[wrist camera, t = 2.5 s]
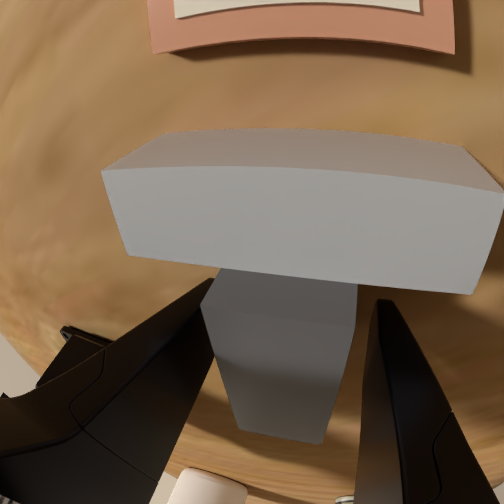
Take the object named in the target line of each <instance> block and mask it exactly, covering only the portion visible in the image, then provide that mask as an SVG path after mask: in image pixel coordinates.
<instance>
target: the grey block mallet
mask: <svg viewBox="0 0 504 504" xmlns="http://www.w3.org/2000/svg"><path fill="white" fill-rule="evenodd" d="M101 174H102V177H103V181H104V184H105V188H106V191H107V194H108V198H109V201H110V204H111V207H112V211H113V214H114V217H115V220H116V223H117V226H118V229H119V232H120V235H121V238H122V241H123V243H124V246H125V249H126V252H127V255H130V256H137V257H144V258H151V259H159V260H166V261H173V262H181V263H188V264H196V265H204V266H211V267H219V268H221V269H220V271H219V273H218V274H217V276H216V278H215V280H214V281H213V283H212V285H211V287H210V288H209V290H208V292H207V294H206V295H205V297H204V299H203V301H202V302H201V304H200V307H201V310H202V314H203V317H204V321H205V324H206V328H207V331H208V335H209V338H210V341H211V345H212V348H213V351H214V355H215V358H216V361H217V364H218V367H219V371H220V374H221V377H222V380H223V383H224V386H225V389H226V392H227V395H228V399H229V402H230V404H231V407H232V410H233V413H234V416H235V419H236V422H237V425H238V428H239V429H240V430H244V431H249V432H253V433H258V434H262V435H267V436H272V437H277V438H282V439H288V440H293V441H299V442H305V443H312V444H319V445H321V443H322V440H323V438H324V435H325V432H326V429H327V426H328V423H329V420H330V417H331V414H332V410H333V407H334V404H335V401H336V397H337V394H338V391H339V387H340V384H341V380H342V377H343V373H344V370H345V366H346V362H347V358H348V355H349V351H350V347H351V343H352V338H353V334H354V330H355V322H356V308H357V290H358V284H365V285H374V286H384V287H394V288H404V289H414V290H424V291H435V292H446V293H457V294H469V295H472V294H473V292H474V290H475V287H476V285H477V283H478V280H479V278H480V275H481V273H482V271H483V268H484V266H485V263H486V260H487V258H488V255H489V252H490V250H491V247H492V244H493V241H494V238H495V235H496V232H497V229H498V226H499V223H500V220H501V216H502V213H503V209H504V190H503V189H502V188H501V187H500V186H499V184H498V183H497V182H496V181H495V180H494V179H493V178H492V177H491V176H490V174H489V173H488V172H487V171H486V170H485V169H484V168H483V167H482V166H481V165H480V164H479V163H478V162H477V161H476V160H475V159H474V158H473V157H472V156H471V155H470V154H469V153H468V152H467V151H466V150H465V149H464V148H463V147H462V146H458V145H452V144H447V143H441V142H435V141H429V140H423V139H416V138H409V137H402V136H394V135H385V134H376V133H365V132H354V131H340V130H323V129H297V128H240V129H214V130H197V131H183V132H171V133H164V134H162V135H160V136H158V137H156V138H155V139H153V140H151V141H149V142H147V143H146V144H144V145H142V146H140V147H139V148H137V149H135V150H134V151H132V152H130V153H129V154H127V155H125V156H124V157H122V158H120V159H119V160H117V161H115V162H114V163H112V164H111V165H109V166H107V167H106V168H104V169H103V170H101Z"/></svg>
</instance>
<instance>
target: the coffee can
mask: <svg viewBox="0 0 504 504" xmlns="http://www.w3.org/2000/svg"><path fill="white" fill-rule="evenodd" d="M353 500H354V495H352V496H344V497H339V498H337V499H336V503H335V504H353Z"/></svg>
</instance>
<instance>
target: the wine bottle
mask: <svg viewBox="0 0 504 504" xmlns="http://www.w3.org/2000/svg"><path fill="white" fill-rule="evenodd" d="M247 494H248V491H247V488H246V487H245V486H243V485H242V484H240V483H238V482H235V481H233V480H230V479H228V478H225V477H222V476H219V475H217V474H213V473H210V472H207V471H204V470H200V469H195V468H186V469H184V470H183V471H182V473H181V474H180V476H179V478H178V481H177V483H176V485H175V487H174V489H173V492H172V494H171V496H170V498H169V500H168V502H167V504H245V501H246V498H247Z"/></svg>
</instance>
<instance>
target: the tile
mask: <svg viewBox="0 0 504 504" xmlns="http://www.w3.org/2000/svg"><path fill="white" fill-rule="evenodd" d="M147 7H148V18H149V27H150V37H151V45H152V54H153V55H156V54H165V53H172V52H177V51H182V50H187V49H193V48H199V47H205V46H212V45H220V44H228V43H237V42H247V41H260V40H278V39H333V40H351V41H364V42H374V43H383V44H391V45H398V46H404V47H410V48H416V49H422V50H427V51H432V52H437V53H441V54H450V55H455V36H454V15H453V2H452V0H147Z"/></svg>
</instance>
